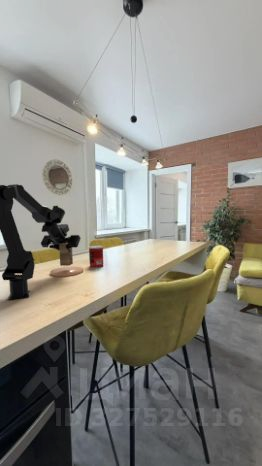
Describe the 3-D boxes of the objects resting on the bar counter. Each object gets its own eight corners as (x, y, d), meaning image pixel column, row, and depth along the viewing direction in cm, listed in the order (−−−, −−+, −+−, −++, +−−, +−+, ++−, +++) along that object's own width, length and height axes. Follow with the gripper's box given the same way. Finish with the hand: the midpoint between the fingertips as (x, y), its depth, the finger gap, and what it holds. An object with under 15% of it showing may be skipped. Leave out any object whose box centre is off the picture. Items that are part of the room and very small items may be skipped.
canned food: (105, 264, 128) (104, 245, 127) (100, 267, 121) (99, 247, 120) (93, 264, 130) (92, 245, 129) (87, 267, 123) (86, 247, 122)
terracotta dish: (85, 274, 107) (85, 271, 107) (50, 278, 102) (50, 275, 101) (80, 267, 122) (80, 265, 122) (50, 270, 116) (49, 268, 116)
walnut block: (68, 265, 109) (67, 239, 108) (60, 265, 110) (58, 239, 109) (72, 263, 113) (71, 238, 112) (64, 263, 114) (63, 238, 113)
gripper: (78, 218, 104) (88, 239, 115) (42, 219, 108) (56, 239, 120) (70, 236, 97) (82, 256, 108) (33, 236, 101) (48, 256, 112)
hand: (67, 251), depth 112 cm, fingers closed on walnut block, 4 cm apart
